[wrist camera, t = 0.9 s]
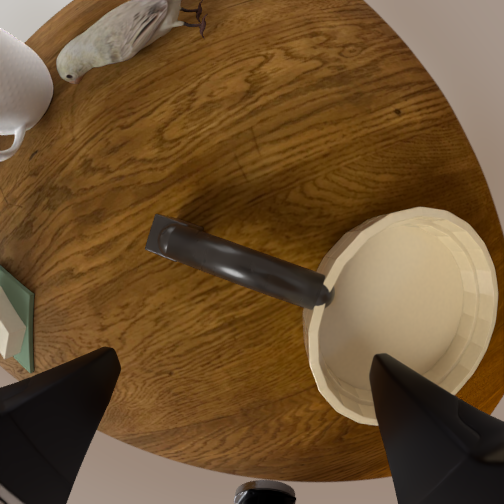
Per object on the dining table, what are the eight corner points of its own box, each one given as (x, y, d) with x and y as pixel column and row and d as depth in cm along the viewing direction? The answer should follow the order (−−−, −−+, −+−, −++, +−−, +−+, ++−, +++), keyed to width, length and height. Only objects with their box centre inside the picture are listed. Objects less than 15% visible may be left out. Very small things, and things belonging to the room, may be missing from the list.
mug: (63, 147, 21) (-33, 111, 8) (9, 189, 22) (-70, 176, 9) (70, 54, 21) (10, 8, 8) (18, 97, 22) (-41, 70, 9)
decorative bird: (78, 69, 20) (41, 40, 13) (208, 11, 19) (190, -38, 11) (74, 102, 21) (30, 75, 13) (216, 39, 19) (196, -15, 11)
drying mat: (34, 371, 23) (30, 373, 22) (-1, 336, 23) (-5, 337, 22) (34, 294, 22) (29, 295, 21) (-1, 264, 22) (-5, 264, 22)
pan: (421, 405, 18) (441, 430, 14) (271, 372, 20) (269, 403, 15) (484, 253, 17) (516, 255, 13) (342, 183, 19) (359, 167, 14)
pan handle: (317, 303, 19) (329, 321, 14) (165, 247, 20) (135, 249, 15) (329, 272, 19) (345, 281, 14) (175, 217, 20) (147, 211, 15)
